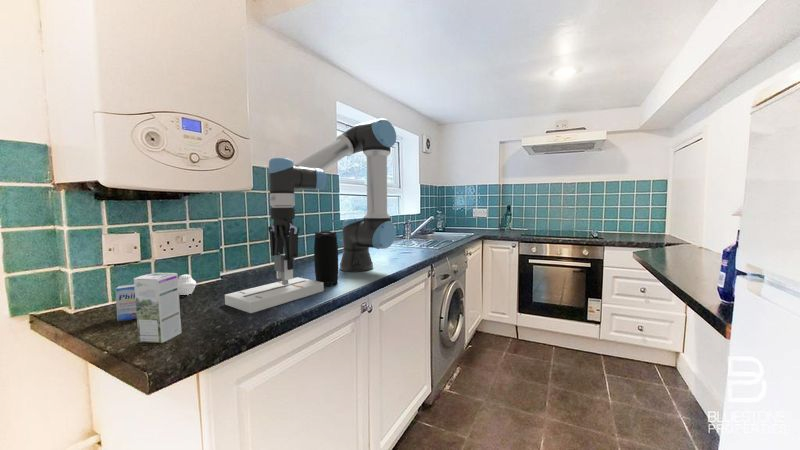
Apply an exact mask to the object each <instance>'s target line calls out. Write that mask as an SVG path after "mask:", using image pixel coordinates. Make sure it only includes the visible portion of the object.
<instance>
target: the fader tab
mask: <svg viewBox="0 0 800 450" xmlns="http://www.w3.org/2000/svg"><path fill="white" fill-rule="evenodd" d="M285 258H286V257H285V253H283V254H280V255H274V256H273V260H274V262H273V263H274V265H273V266H274V271H275V272H277V271H279V272H282V278H281V281H282V285H287V284H288V280H285V276H284V259H285ZM293 270H295V258H294V259H293Z"/></svg>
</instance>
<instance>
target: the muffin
mask: <svg viewBox="0 0 800 450" xmlns="http://www.w3.org/2000/svg"><path fill="white" fill-rule="evenodd" d="M196 285H197V281H196V280H195V279H193V277H192V275H190V274H189V273H188V274H185V273H184V274H182V275H179V276H178V290H179V296H180V295H187V296H190V295H189V294H191V295H192V294H193V292H194V290H195V288H196Z"/></svg>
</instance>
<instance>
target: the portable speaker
mask: <svg viewBox="0 0 800 450" xmlns="http://www.w3.org/2000/svg"><path fill="white" fill-rule="evenodd" d="M313 247H314V248H313V256H314V259H313V260H314V275H315V281H319V282H323V286H324V288H326V287H331V286H332V285H333V284H338V283H339V281H338V279H339V246H338V236H337V231H333V232H332V231H330V230H329V231H328V230H322V231H319V232H314V245H313Z"/></svg>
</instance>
